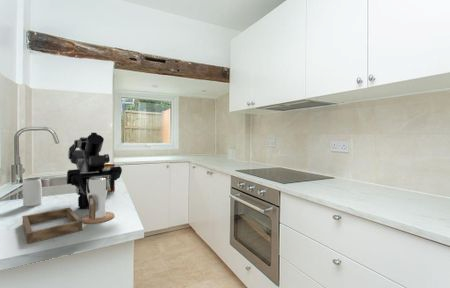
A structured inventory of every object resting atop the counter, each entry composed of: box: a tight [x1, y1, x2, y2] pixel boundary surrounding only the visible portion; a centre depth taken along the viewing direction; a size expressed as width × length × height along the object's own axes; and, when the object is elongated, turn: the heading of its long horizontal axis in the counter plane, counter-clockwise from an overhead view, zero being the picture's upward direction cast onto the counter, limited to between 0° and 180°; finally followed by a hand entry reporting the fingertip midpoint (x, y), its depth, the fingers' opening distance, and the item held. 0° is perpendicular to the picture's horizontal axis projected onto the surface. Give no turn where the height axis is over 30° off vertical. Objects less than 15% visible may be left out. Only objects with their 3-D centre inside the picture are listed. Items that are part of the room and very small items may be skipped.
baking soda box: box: [100, 162, 116, 193], centre depth 128 cm, size 10×6×16 cm
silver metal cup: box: [87, 177, 108, 219], centre depth 86 cm, size 7×7×15 cm
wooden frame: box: [22, 207, 83, 245], centre depth 78 cm, size 14×20×3 cm
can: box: [22, 177, 43, 208], centre depth 102 cm, size 6×6×12 cm
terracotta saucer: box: [81, 211, 115, 225], centre depth 87 cm, size 11×11×1 cm
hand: (99, 192), depth 85 cm, fingers open, 9 cm apart
